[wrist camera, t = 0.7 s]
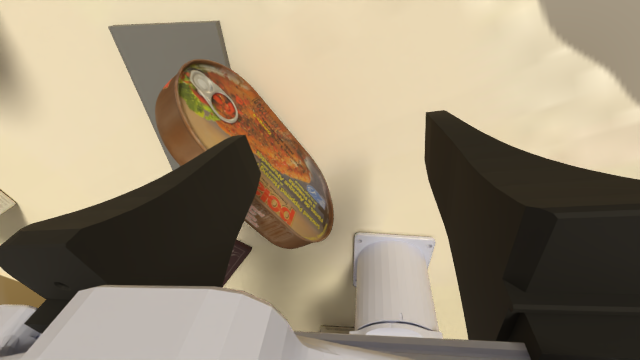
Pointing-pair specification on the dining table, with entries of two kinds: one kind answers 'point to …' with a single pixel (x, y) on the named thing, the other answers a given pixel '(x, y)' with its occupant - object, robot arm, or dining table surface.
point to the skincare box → (5, 203)
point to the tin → (265, 141)
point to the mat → (165, 56)
